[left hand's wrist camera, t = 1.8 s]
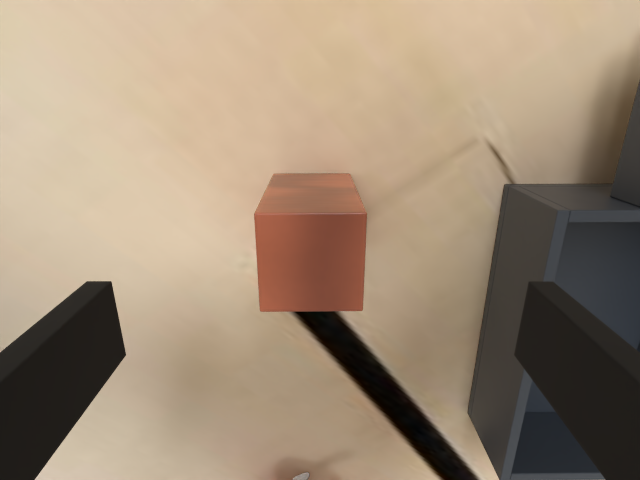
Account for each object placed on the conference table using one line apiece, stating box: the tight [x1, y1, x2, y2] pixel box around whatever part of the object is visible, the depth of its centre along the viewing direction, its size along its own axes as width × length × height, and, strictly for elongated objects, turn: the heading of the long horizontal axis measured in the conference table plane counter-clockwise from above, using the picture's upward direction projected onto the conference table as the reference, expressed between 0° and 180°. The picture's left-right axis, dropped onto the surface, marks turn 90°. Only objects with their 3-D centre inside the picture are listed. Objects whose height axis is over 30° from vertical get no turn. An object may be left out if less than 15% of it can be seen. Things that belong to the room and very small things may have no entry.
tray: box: [468, 81, 640, 480], centre depth 23 cm, size 11×25×6 cm, turn 0°
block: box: [254, 174, 367, 312], centre depth 21 cm, size 4×4×8 cm
